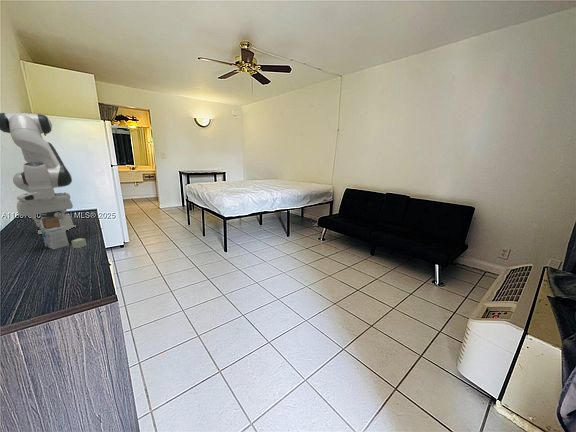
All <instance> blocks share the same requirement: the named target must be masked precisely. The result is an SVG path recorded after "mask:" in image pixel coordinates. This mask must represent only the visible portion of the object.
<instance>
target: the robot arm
mask: <svg viewBox="0 0 576 432" xmlns="http://www.w3.org/2000/svg"><path fill="white" fill-rule="evenodd" d="M52 129H53V124H52V122H51V120H50V119H49V117H48V116H47V115H45V114H41V113H37V114H36V113H31V112H30V113H27V112H8V113H5V112H0V131H1V132H3V133H7V134H10V136H11V138H12V139H11V140H12V141H13V143H14V144H15V145H16V147H18V148H20V150H21V153H22V156H23V159H24V161H25V162H26V163H23V172H22V171H21V172H17V173H15V174H14V175H13V177H12V182H13V184H14V185H15V186H16V187H17V188H18V189H20V190H22V191H25V192H26V193H23V194H20V195H17V196H16V199H17V200H18V201H17V203H16V209H17V214H18V215H19V216H21V217H29V216H30V218H31V219H32V220H34V223H35V224H36V227H37V228H41V227H44V226H43V223H42V218H48V217H58V219H59V223H60V226H63V227H64V228H65V232H67V231H66V230H68V231H70V230H69V229H71V228H73V227H75V228H77V227H76V226H77V225H76V224H75V225H74V223H73V220H72V217H71V215H68V212H67V210H71V209H73V208H74V205H73V203H72V201H71V195H70V194H69V193H68V192H55V188H63V187H64V188H65V187H67V186H71V184H72V181H73V178H72V175H71V172H70V171H69V170H68V169H67V167H66V166H65V164H64V162H63V161H62V158H61V157H60V155H59V154H58V151H57V150H56V148H55V146H53V144H52V143H51V142H48V141H46V140H45V139H44V137H46V136H47V135H48V134H49V133H51V132H52ZM42 134H43V135H42ZM43 136H44V137H43ZM36 215H40V219H39V218H36ZM73 229H74V228H73ZM71 230H72V229H71ZM39 234H42V232H41V230H38V232H37V235H39Z"/></svg>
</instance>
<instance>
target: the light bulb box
mask: <svg viewBox="0 0 576 432" xmlns="http://www.w3.org/2000/svg"><path fill="white" fill-rule="evenodd" d="M39 228H40V227H39ZM40 229H41V232H42V238H43V241H44V245H45V247H46V248H48V249H52V250H56V249H61V248H64V247H68V246H70V243H69V240H68V236H67V231H65V228H64V227H63V226H60V227H55V228H50V229H47V228H44V227H41V228H40Z"/></svg>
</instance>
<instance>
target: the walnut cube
mask: <svg viewBox="0 0 576 432" xmlns="http://www.w3.org/2000/svg"><path fill="white" fill-rule="evenodd" d="M42 223H43V226H44V228H47V229H50V228H55V227H60V223H59V219H58V217H48V218H42Z"/></svg>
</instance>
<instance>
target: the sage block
mask: <svg viewBox="0 0 576 432" xmlns="http://www.w3.org/2000/svg"><path fill="white" fill-rule="evenodd" d="M86 240H87V239H86V238H83V237H82V238H80V237H79V238H76V239H73V240H71V245H72V249H80V248H84V247H86V246H88V245H87V241H86Z"/></svg>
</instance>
